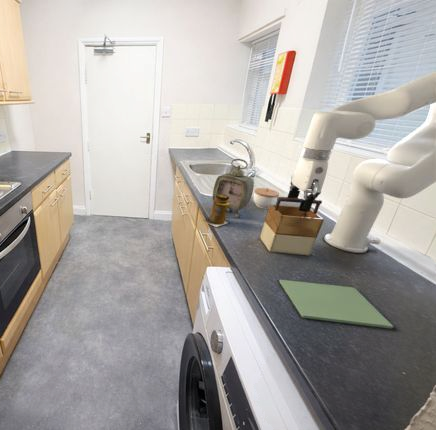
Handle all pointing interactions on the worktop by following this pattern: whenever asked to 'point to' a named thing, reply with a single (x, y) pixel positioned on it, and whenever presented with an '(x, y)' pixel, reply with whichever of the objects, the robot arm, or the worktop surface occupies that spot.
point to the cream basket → (286, 242)
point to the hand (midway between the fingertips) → (297, 205)
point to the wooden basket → (294, 219)
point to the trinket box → (265, 197)
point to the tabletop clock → (235, 188)
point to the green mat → (333, 304)
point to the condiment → (218, 211)
